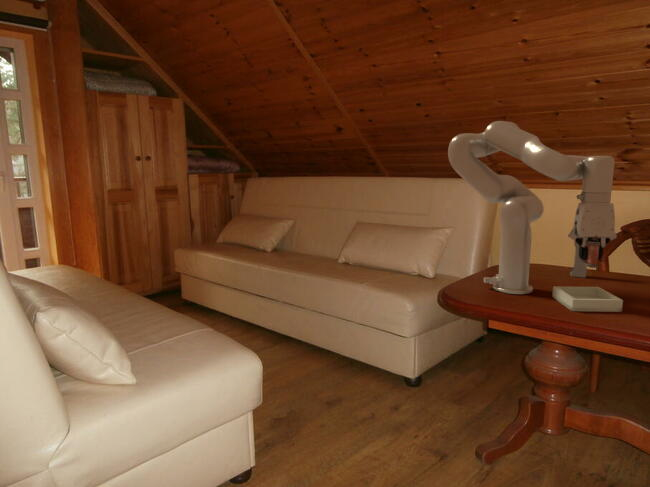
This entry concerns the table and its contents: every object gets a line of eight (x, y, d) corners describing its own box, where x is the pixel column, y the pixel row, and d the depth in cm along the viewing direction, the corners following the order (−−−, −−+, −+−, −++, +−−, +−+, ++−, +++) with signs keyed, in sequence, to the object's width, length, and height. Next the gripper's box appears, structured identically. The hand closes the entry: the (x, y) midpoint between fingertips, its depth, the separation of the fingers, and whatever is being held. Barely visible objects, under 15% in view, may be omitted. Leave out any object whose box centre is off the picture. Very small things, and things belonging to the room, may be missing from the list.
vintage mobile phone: (570, 274, 177) (576, 209, 172) (585, 275, 175) (591, 209, 170) (570, 276, 174) (576, 210, 169) (585, 278, 172) (592, 210, 167)
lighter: (600, 267, 135) (604, 234, 134) (588, 267, 136) (591, 234, 134) (590, 261, 143) (593, 230, 141) (578, 261, 144) (581, 229, 142)
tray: (571, 311, 136) (573, 299, 135) (552, 296, 149) (553, 286, 149) (621, 311, 135) (623, 300, 134) (597, 297, 148) (598, 286, 148)
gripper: (572, 199, 133) (567, 262, 136) (632, 199, 132) (625, 262, 135) (561, 197, 140) (556, 256, 144) (618, 197, 139) (612, 257, 142)
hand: (590, 258), depth 139 cm, fingers closed on lighter, 3 cm apart
